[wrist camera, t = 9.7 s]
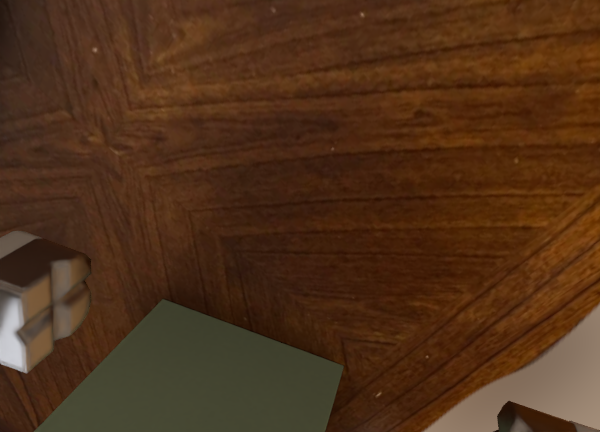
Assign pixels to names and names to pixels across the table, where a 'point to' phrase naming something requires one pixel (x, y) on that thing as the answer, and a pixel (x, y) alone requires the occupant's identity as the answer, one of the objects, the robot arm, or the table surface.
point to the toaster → (200, 382)
